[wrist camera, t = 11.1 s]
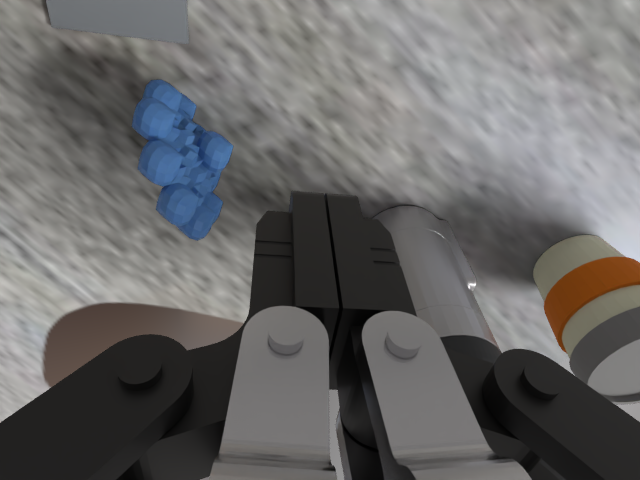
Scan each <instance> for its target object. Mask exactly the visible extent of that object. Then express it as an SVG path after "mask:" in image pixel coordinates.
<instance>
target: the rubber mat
mask: <svg viewBox="0 0 640 480" xmlns="http://www.w3.org/2000/svg"><path fill="white" fill-rule="evenodd" d="M46 4H47V8H48V13H49V17H50V22H51V26H52V27H53V28H61V29H69V30H77V31H85V32H93V33H102V34H110V35H118V36H126V37H134V38H142V39H150V40H158V41H166V42H174V43H182V44H188V43H189V35H188V14H187V0H46Z"/></svg>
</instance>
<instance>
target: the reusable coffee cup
mask: <svg viewBox="0 0 640 480" xmlns="http://www.w3.org/2000/svg"><path fill="white" fill-rule="evenodd" d="M533 277H534V280H535V282H536V285H537V287H538V289H539V291H540V294H541V296H542V298H543V300H544V310H545V314H546V316H547V319H548V321H549V323H550V326H551V328H552V330H553V332H554V335H555V337H556V339H557V342H558V344H559V346H560V347H561V349H562V350H563V351H564V352H566V353H567V354H568V356H569V358H570V362H569V363H570V367H571V370H572V372H573V373H574V374H575V376H576V377H577V378H578V379H580V380H581V381H583V382H584V383H585V384H587V385H588V386H590V387H591V388H592V389H594V390H595V391H597V392H598V393H599V394H601V395H602V396H604V397H605V398H606V399H608V400H609V401H611V402H612V403H613V404H621V405H624V404H635V403H640V263H639V262H638V261H636V260H634V259H631V258H627V257H625V256H624V255H622V254H621V253H620V252H619V251H617V250H616V249H615V248H613V247H612V246H611V245H610V244H608V243H607V242H606V241H604V240H603V239H601V238H600V237H597V236H593V235H578V236H574V237H570V238H567V239H565V240H562V241H560V242H558V243H556V244H555V245H553V246H552V247H550V248H549V249H548V250H547V251H545V252H544V253H543V254H542V255H541V257H540V258H539V259H538V261H537V262H536V264H535V267H534V270H533Z"/></svg>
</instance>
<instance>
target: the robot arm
mask: <svg viewBox="0 0 640 480" xmlns="http://www.w3.org/2000/svg"><path fill="white" fill-rule="evenodd" d="M476 284H477V280H476V277H475V275H474V273H473V271H472V269H471V267H470V265H469V263H468V261H467V259H466V257H465V255H464V253H463V252H462V250H461V248H460V246H459V244H458V242H457V240H456V238H455V236H454V234H453V232H452V230H451V228H450V226H449V224H448V222H447V221H446V220H439V219H437V218H436V217H435V216H434V215H433V214H432V213H431V212H429V211H427V210H425V209H423V208H419V207H416V206H398V207H394V208H390V209H387V210H385V211H383V212H381V213H379V214H378V215H376V216H375V217H373V218H372V219H370V218H363V217H362V213H361V208H360V204H359V200H358V197H357V196H350V195H338V194H325V195H324V194H323V193H312V192H300V191H292V192H291V198H290V206H289V212H275V211H267V212H266V213H265V215H264V216H263V217H262V218H261V219H260V221H259V222H258V223H257V228H256V240H255V251H254V263H253V275H252V287H251V299H250V310H249V314H248V317H247V319H246V321H245V323H244V324H243V326H242V327H241V328H240V329H239V330H238V331H237V332H236V333H234V334H233V335H232V336H230V337H228V338H227V339H225V340H223V341H221V342H218V343H215V344H212V345H208V346H204V347H200V348H196V349H192V350H188V351H187V350H186V349H185V348H184V347H183V346H182V345H181V344H180V343H179V342H177V341H175V340H174V339H171V338H169V337H166V336H162V335H152V334H149V335H139V336H134V337H131V338H127V339H125V340H122V341H120V342H118V343H116V344H114V345H113V346H111V347H109V348H108V349H107V350H105V351H104V352H102V353H101V354H99V355H98V356H96V357H95V358H94V359H92V360H91V361H89V362H88V363H86V364H85V365H84V366H82V367H80V368H79V369H78V370H76V371H75V372H73V373H72V374H70V375H69V376H68V377H66V378H64V379H63V380H62V381H60V382H59V383H57V384H56V385H54V386H53V387H51V388H50V389H49V390H47V391H46V392H44V393H43V394H41V395H40V396H38V397H37V398H35V399H34V400H33V401H31V402H30V403H28V404H27V405H25V406H24V407H22V408H21V409H19V410H18V411H17V412H15V413H14V414H12V415H11V416H9V417H8V418H6V419H5V420H4V421H2V422H1V423H0V480H200V479H203V478H205V477H208V476H210V478H209V480H337V475H336V470H335V467H334V466H333V465H332V464H331V460H330V439H329V438H330V435H329V433H330V431H329V430H330V429H329V389H332V390H338V396H339V406H340V408H339V411H338V415H337V418H336V433H337V439H338V445H339V451H340V457H341V462H342V468H343V474H344V480H640V422H639V421H637V420H636V419H634V418H633V417H632V416H630V415H629V414H627V413H626V412H625V411H623V410H622V409H620V408H619V407H618V406H616V405H615V404H613V403H612V402H611V401H609V400H608V399H606V398H605V397H604V396H602V395H601V394H599V393H598V392H597V391H595V390H594V389H592V388H591V387H590V386H588V385H587V384H585V383H584V382H583V381H581V380H580V379H578V378H577V377H576V376H574V375H573V374H571V373H570V372H569V371H567V370H566V369H564V368H563V367H562V366H560V365H559V364H557V363H556V362H554V361H553V360H551V359H550V358H548V357H546V356H544V355H542V354H539V353H537V352H534V351H530V350H525V349H512V350H508V351H505V352H503V353H501V351H500V349H499V347H498V345H497V343H496V341H495V339H494V337H493V334H492V332H491V330H490V328H489V326H488V324H487V322H486V320H485V318H484V316H483V314H482V312H481V310H480V307H479V305H478V303H477V301H476V299H475V297H474V295H473V293H472V292H473V290H474V288H475V286H476Z"/></svg>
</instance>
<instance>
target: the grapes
mask: <svg viewBox="0 0 640 480" xmlns="http://www.w3.org/2000/svg"><path fill="white" fill-rule="evenodd" d="M195 109H196V105H195V104H194V103H193V102H192V101H191V100H190V99H189V98H188V97H186V96H185V95H183V94H182V93H180V92H178V91H177V90H176V89H175V88H174V87H173V86H172V85H170V84H169V83H167V82H165V81H163V80H151V81H150V82H149V83H148V84H147V85H146V88H145V91H144V94H143V98H142V100H141V101H140V102H139V103H138V104H137V106H136V109H135V112H134V116H133V122H132V127H133V128H134V129H135V130H136V131H137V132H138V133H139V134H140V135H141V136H142V137H144V138H145V139H147V140H150V141H148V143H147V144H146V145H145V146H144V147H143V150H142V152H141V155H140V159H139V164H138V170H139V171H140V172H141V173H142V174H143V175H144V176H145V177H146V178H148V179H149V180H150V181H151V182H153V183H155V184H157V185H160V186H164V187H163V188H162V190H161V192H160V195H159V198H158V201H157V206H156V210H157V211H158V212H159V213H160V214H161V215H162V216H163V217H164V218H165V219H167V220H168V221H169V222H170V223H171V224H174V225H176V226H177V227H178V228H179V230H180V231H182V232H183V233H184V234H185V235H187V236H188V237H189V238H191V239H194V240H200V239H203V238H204V237H205V236H206V235H207V233H208V232H209V231H210V229H211V226H212V225H213V223H214V222H215V221H216V219H217V218H218V217H219V214H220V211H221V208H222V205H223V201H222V200H221V199H220V198H219V197H217V196H216V195H215V194H214V193H213V191H214V189H215V188H216V186H217V184H218V181H219V178H220V175H221V171H222V170H223V169H224V168H225V166H226V165H227V163H228V162H229V159H230V156H231V153H232V149H233V145H232V144H231V143H230V142H228V141H227V140H226V139H225V138H224V137H223V136H222V135H220V134H218V133H216V132H213V131H206V130H205V129H204V128H202V127H201V126H200V125H198V124H196V123H194V122H193V121H192V119H193V116H194V114H195Z"/></svg>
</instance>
